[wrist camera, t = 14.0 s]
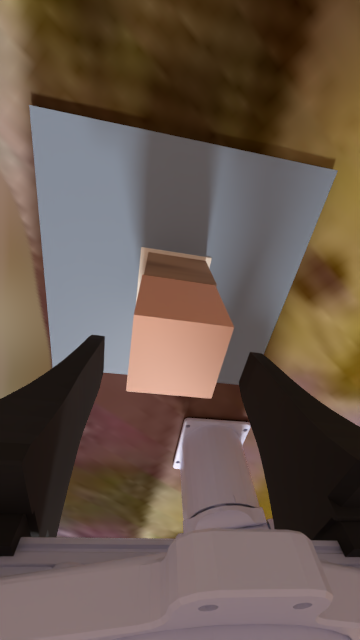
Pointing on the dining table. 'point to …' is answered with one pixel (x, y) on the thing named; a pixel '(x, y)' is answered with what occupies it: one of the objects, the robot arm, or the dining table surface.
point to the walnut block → (178, 268)
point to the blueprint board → (164, 228)
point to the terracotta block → (177, 338)
